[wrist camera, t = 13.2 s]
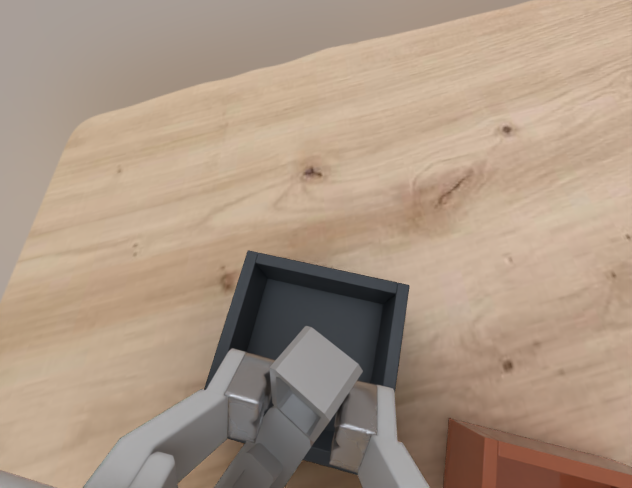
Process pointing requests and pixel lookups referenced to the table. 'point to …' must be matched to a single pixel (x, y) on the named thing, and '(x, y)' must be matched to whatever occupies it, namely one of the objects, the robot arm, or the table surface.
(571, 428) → the table surface
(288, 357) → the lighter
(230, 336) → the grey bin
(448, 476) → the terracotta bin
